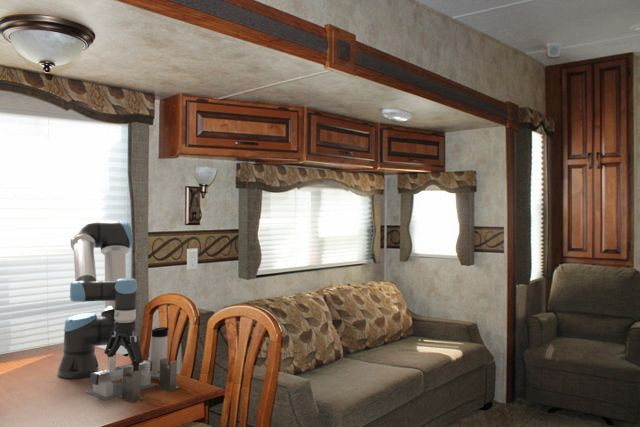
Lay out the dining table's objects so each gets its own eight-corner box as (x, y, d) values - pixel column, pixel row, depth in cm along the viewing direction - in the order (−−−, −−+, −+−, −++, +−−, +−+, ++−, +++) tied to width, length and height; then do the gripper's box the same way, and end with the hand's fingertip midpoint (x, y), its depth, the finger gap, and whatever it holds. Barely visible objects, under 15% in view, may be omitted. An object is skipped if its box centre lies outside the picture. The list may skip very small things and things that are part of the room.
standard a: (117, 397, 194) (119, 368, 194) (130, 394, 199) (131, 365, 198) (131, 403, 190) (133, 372, 190) (144, 399, 194) (145, 369, 194)
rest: (85, 392, 198) (85, 379, 198) (137, 378, 216) (137, 367, 216) (104, 400, 191) (105, 387, 191) (156, 385, 209) (157, 373, 209)
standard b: (155, 387, 208) (156, 359, 207) (165, 384, 212) (167, 356, 212) (169, 391, 203) (170, 363, 203) (179, 388, 207) (180, 360, 207)
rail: (90, 382, 195) (90, 372, 195) (146, 369, 214) (146, 359, 214) (96, 385, 193) (96, 374, 193) (151, 370, 212) (152, 361, 212)
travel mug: (162, 380, 216) (164, 329, 216) (146, 378, 217) (148, 328, 217) (169, 375, 222) (171, 326, 222) (154, 374, 223) (156, 325, 223)
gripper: (96, 316, 208) (93, 372, 208) (137, 327, 193) (134, 387, 194) (113, 314, 214) (111, 368, 214) (154, 324, 200) (152, 382, 200)
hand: (122, 377), depth 204 cm, fingers open, 13 cm apart
